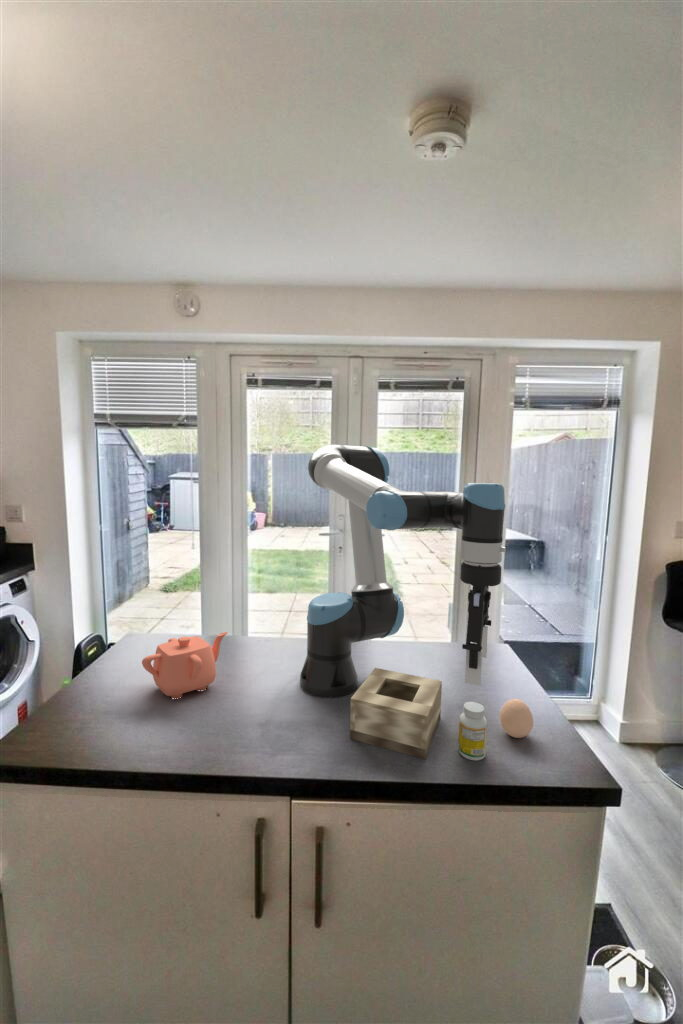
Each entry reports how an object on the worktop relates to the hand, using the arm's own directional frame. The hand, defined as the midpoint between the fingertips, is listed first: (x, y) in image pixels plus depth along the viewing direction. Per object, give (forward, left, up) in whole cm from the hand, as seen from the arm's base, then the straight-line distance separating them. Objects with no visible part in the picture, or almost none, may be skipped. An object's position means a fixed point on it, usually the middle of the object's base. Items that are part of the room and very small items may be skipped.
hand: (476, 669), depth 85 cm
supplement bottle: (0, 0, -18) cm, 18 cm away
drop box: (-16, +2, -17) cm, 24 cm away
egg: (+8, +10, -18) cm, 22 cm away
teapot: (-70, -3, -18) cm, 72 cm away
